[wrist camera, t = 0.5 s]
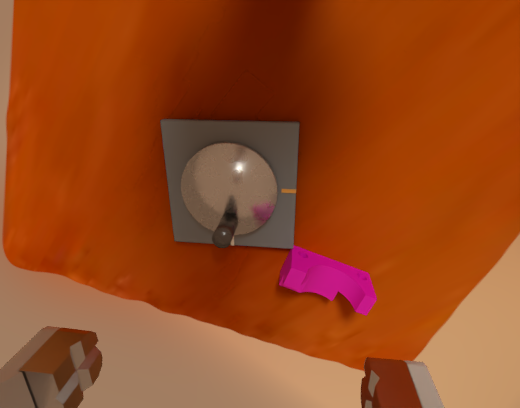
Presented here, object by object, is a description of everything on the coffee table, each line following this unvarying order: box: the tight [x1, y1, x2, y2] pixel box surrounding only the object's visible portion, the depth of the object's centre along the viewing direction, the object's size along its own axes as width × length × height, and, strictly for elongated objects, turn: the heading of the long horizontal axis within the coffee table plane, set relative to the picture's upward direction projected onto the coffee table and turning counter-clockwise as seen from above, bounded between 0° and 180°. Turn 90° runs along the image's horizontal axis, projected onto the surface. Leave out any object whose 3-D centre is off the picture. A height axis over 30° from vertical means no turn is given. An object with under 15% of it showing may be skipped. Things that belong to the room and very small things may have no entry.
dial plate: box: [160, 119, 299, 249], centre depth 55 cm, size 22×22×2 cm
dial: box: [181, 141, 278, 248], centre depth 51 cm, size 16×16×8 cm
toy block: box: [279, 245, 377, 315], centre depth 57 cm, size 15×6×8 cm, turn 71°
